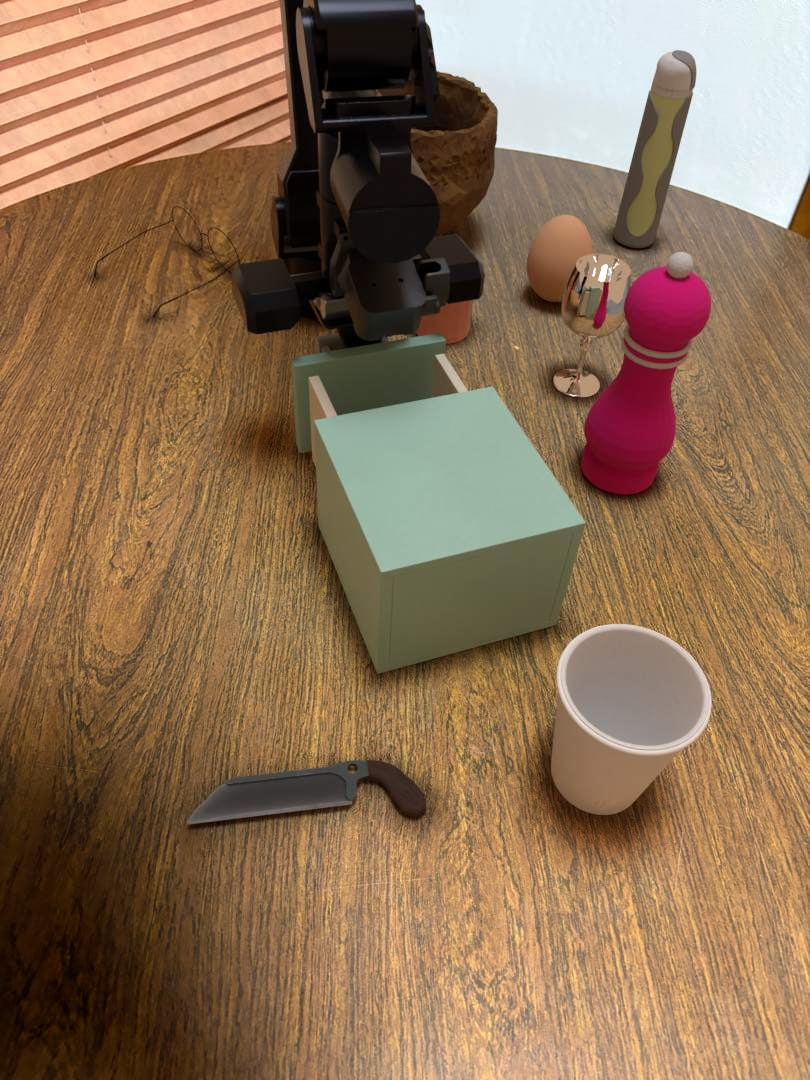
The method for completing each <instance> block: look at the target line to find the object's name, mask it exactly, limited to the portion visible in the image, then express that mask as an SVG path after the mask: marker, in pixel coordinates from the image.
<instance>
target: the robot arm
mask: <svg viewBox="0 0 810 1080" xmlns="http://www.w3.org/2000/svg"><path fill="white" fill-rule="evenodd" d="M279 9H280V10H279V11H280V18H281V19H280V21H281V34H282V46H283V57H284V58H283V59H284V70H285V82H286V83H285V85H286V94H287V95H286V96H287V104H288V105H287V107H288V118H289V130H290V144H289V146H288V148H287V151H286V153H285V155H284V157H283V159H282V162H281V164H280V166H279V167H278V170H277V172H276V178H277V179H276V181H277V194H278V195H273V196H272V200H271V207H270V214H269V218H270V228H271V237H272V241H273V245H274V248H275V252H276V255H277V258H272V259H264V260H258V261H257V260H256V261H250V262H242V263H240V264H239V263H236V266H235V267H234V268H233V270H232V271H231V272H232V273H231V274H230V281H231V290H232V296H233V299H234V301H235V304H236V307H237V309H238V311H239V314H240V316H241V318H242V321H243V324H244V326H245V328H246V331H247V332H248V333H251V334H254V335H263V334H269V333H275V332H282V331H288V330H292V329H293V328H294V327H295V326H296V324H298V322H299V321H300V320H301V319H302V316H305V317H307V318H311V319H314V320H317V321H319V323H320V325H321V327H322V328H323V329H325V330H330V331H331V330H336V332H337V333H338V334H339V337H340V339H341V342H342V344H343V347H344V349H346V348H352V347H358V346H364V345H370V344H376V343H380V342H381V340H382V338H383V337H388V338H389V337H393V336H400V335H403V336H410V335H413V334H416V333H415V332H416V331H417V330H418V329H419V325H420V322H421V318H422V316H429V315H434V314H439V313H440V307H443V306H445V305H446V303H448V304H451V303H457V302H463V301H470V300H473V301H475V300H476V301H477V300H480V299H481V297H482V296H483V294H484V286H485V278H486V273H485V270H484V265H483V264H482V262H481V261H480V260H479V259H478V257H477V256H476V255H475V253H474V252H473V251H472V250H471V248H470V247H469V246H468V245H467V243H466V242H465V241H464V240H463V239H462V238H461V237H460V235H458V233H453V234H444V235H441V236H438V237H434V235H435V233H436V231H437V229H438V225H439V221H440V208H439V204H438V201H437V197H436V195H435V193H434V191H433V189H432V188H431V186H430V184H429V182H428V181H427V179H426V177H425V175H424V174H423V172H422V170H421V168H420V166H419V165H418V163H417V161H416V159H415V158H414V156H413V153H412V150H411V128H423V127H434V126H435V114H434V104H436V103H437V101H438V98H439V96H440V90H439V84H438V77H437V71H438V69H437V64H436V57H435V49H434V43H433V37H432V29H431V26H430V25H429V24H428V23H427V22H426V11H425V9H424V8H423V6H422V5H421V4H419V3H418V4H417V2H416V0H279ZM409 75H411V80H412V85H413V91H414V95H394V96H382V95H381V94H380V93H379V92H378V91H377V90H378V89H400V88H405V86H406V85H407V84H408V79H409Z"/></svg>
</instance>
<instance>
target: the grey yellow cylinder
mask: <svg viewBox="0 0 810 1080" xmlns="http://www.w3.org/2000/svg"><path fill="white" fill-rule="evenodd" d="M696 81H697V63H696V60H695V57H694V56H693V55H692V54H691V53H690V52H688V51H686V50H680V49H676V50H673V51H668V52H666V53H664V54H662V55H661V56H660V58H659V59H658V61H657V64H656V68H655V73H654V76H653V79H652V83H651V86H650V90H648V93H647V98H646V102H645V106H644V110H643V113H642V118H641V121H640V126H639V129H638V133H637V137H636V142H635V145H634V149H633V154H632V157H631V161H630V165H629V169H628V172H627V177H626V181H625V185H624V188H623V193H622V197H621V201H620V205H619V209H618V212H617V216H616V220H615V225H614V228H613V237H614V240H615V241H617V243H619V244H620V245H622V246H624V247H627V248H631V249H643V248H647V247H650V246H651V245H653V243H655V241H656V238H657V234H658V230H659V226H660V223H661V219H662V214H663V210H664V207H665V203H666V199H667V195H668V192H669V188H670V184H671V180H672V176H673V173H674V169H675V165H676V161H677V157H678V153H679V150H680V146H681V141H682V137H683V133H684V130H685V126H686V122H687V120H688V119H687V118H688V115H689V111H690V108H691V103H692V99H693V96H694V91H693V90H694V88H695V87H696Z"/></svg>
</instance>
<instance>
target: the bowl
mask: <svg viewBox="0 0 810 1080" xmlns="http://www.w3.org/2000/svg"><path fill="white" fill-rule="evenodd" d="M437 77H438V84H439V90H440V96H439V98H438V101H437V103H436V104H434V114H435V126H434V127H423V128H411V150H412V153H413V156H414V158H415V159H416V161H417V163H418V165H419V166H420V168H421V170H422V172H423V174H424V175H425V177H426V179H427V181H428V182H429V184H430V186H431V188H432V189H433V191H434V193H435V195H436V197H437V201H438V204H439V208H440V221H439V225H438V229H437V231H436V233H435V235H434V237H438V236H444V235H446V234H447V233H449V232H450V231H453V230H454V229H455V228H456V227H458V226H460V224H461V223H462V222H463V221H464V220H465V219H466V218H468V217H469V216H470V215H471V214H472V212H473V211H474V210H475V209H476V208H477V207H478V206H479V205H480V203H481V202H482V201H483V200H484V198H485V197H486V196H487V193H488V190H489V189H490V185H491V182H492V180H493V177H494V173H495V168H496V167H495V166H496V165H495V164H496V162H495V161H496V160H495V159H496V158H495V150H496V145H497V141H498V134H497V133H498V123H499V122H498V116H499V110H498V107H497V105H496V104H495V102H493V101H492V100H491V99H490V97H489V96H488V94H487V93H486V92H484V91H482V87H481V86H476V83H475V82H473V81H471V80H468V79H467V78H466V77H464V76H463V77H461V76H459V75H452V74H451V73H448V72H442V71H441V72H440V71H439V70H437ZM377 91H378V92H379V93H380V94H381V95H382V96H394V95H414V91H413V85H412V80H411V75H409V79H408V84H407V85H406V86H405V88H400V89H378V90H377Z"/></svg>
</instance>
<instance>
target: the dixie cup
mask: <svg viewBox="0 0 810 1080" xmlns="http://www.w3.org/2000/svg"><path fill="white" fill-rule="evenodd" d="M555 676H556V677H555V678H556V687H557V699H556V709H555V710H556V711H555V718H554V728H553V739H552V750H551V757H550V758H551V759H550V771H551V772H550V773H551V777H552V781H553V783H554V786H555V788H556V789H557V790H558V792H559V793H560V794H561V796H562V798H564V799H565V800H566V801H567V802H568V803H570V804H571V805H572V806H574V807H575V808H577V809H578V810H581V811H583V812H585V813H589V814H593V815H599V816H609V815H615V814H618V813H621V812H623V811H625V810H626V809H628V808H629V807H631V806H632V805H633V804H634V802H635V801H637V799H638V798H639V797H640V796H641V795H642V794H643V793H644V792H645V790H646V789H648V787H650V785H651V784H652V783H653V782H654V781H655V779H656V778H657V777H658V776H659V775H660V774H661V773H662V772H663V771H664V770H665V769H666V768H667V766H668V765H669V764H670V763H671V762H672V761H673V760H674V759H675V758H676V756H677V755H678V754H679V753H680V752H681V751H682V750H684V749H685V748H687V747H689V746H690V745H692V743H693V744H694V742H696V740H698V739H699V738H700V737H701V735H702V734H703V732H704V731H705V729H706V728H707V725H708V724H709V721H710V718H711V714H712V707H713V704H712V703H713V699H712V692H711V688H710V684H709V682H708V680H707V677H706V675H705V673H704V671H703V670H702V668H701V666H700V665H699V663H698V662H697V661H696V659H695V658H694V657H693V656H692V655H691V654H690V653H689V652H688V651H687V650H686V649H684V648H683V647H682V645H680V644H679V643H677V642H675V641H674V640H673V639H672V638H669V637H668V636H666V635H665V634H662V633H660V632H657V631H656V630H653V629H651V628H648V627H644V626H640V625H635V624H629V623H628V624H626V623H610V624H603V625H598V626H595V627H591V628H590V629H587V630H585V631H583V632H581V633H580V634H578V635H577V636H576V637H574V638H573V639H571V641H570V642H568V644H567V645H566V646H565V648H564V649H563V651H562V653H561V654H560V657H559V659H558V662H557V666H556V674H555Z"/></svg>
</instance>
